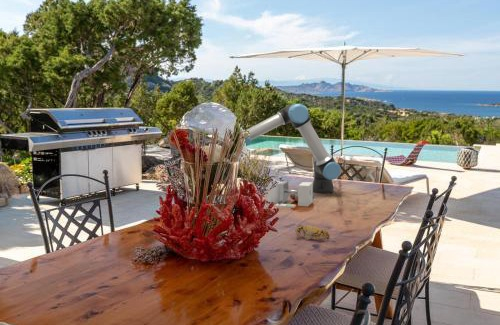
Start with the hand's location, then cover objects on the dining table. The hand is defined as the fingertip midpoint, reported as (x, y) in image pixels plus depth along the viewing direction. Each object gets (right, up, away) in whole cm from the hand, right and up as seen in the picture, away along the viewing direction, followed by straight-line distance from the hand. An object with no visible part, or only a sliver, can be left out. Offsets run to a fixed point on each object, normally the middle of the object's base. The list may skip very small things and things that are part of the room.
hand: (265, 193), depth 282 cm
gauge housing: (+17, -6, -8) cm, 20 cm away
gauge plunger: (+14, -5, -7) cm, 17 cm away
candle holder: (+5, -5, -1) cm, 8 cm away
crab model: (+19, -15, -75) cm, 78 cm away
